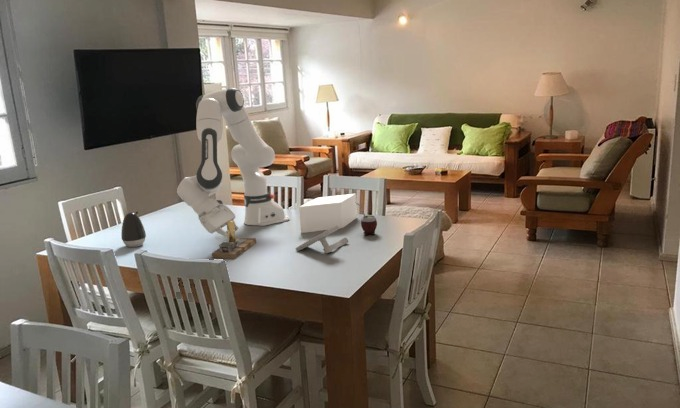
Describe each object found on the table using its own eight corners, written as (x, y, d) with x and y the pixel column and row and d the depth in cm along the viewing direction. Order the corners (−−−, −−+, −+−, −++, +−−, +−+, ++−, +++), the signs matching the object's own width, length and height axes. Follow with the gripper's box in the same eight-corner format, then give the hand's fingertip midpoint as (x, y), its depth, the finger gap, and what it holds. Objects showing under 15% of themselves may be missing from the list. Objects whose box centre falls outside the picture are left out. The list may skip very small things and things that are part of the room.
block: (369, 220, 275) (368, 195, 272) (313, 236, 253) (311, 209, 250) (345, 215, 288) (344, 191, 285) (289, 230, 266) (287, 204, 263)
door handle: (304, 265, 232) (337, 247, 220) (295, 248, 233) (327, 229, 220) (329, 252, 246) (361, 235, 234) (320, 236, 246) (352, 218, 234)
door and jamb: (234, 242, 250) (233, 231, 249) (255, 242, 247) (255, 231, 246) (212, 258, 229) (210, 246, 228) (235, 258, 226) (233, 246, 225)
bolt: (232, 243, 239) (229, 219, 237) (238, 243, 238) (236, 219, 236) (221, 250, 230) (219, 226, 227) (228, 250, 229) (226, 226, 227)
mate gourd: (380, 233, 251) (379, 200, 248) (369, 237, 245) (367, 204, 242) (367, 231, 256) (366, 198, 253) (356, 235, 250) (354, 202, 247)
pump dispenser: (151, 242, 257) (147, 209, 254) (139, 249, 247) (134, 215, 244) (131, 242, 259) (126, 209, 256) (118, 248, 249) (113, 215, 246)
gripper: (200, 210, 224) (226, 234, 224) (223, 199, 243) (246, 221, 243) (191, 221, 226) (216, 245, 226) (214, 209, 245) (237, 231, 245)
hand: (232, 232), depth 235 cm, fingers open, 8 cm apart
